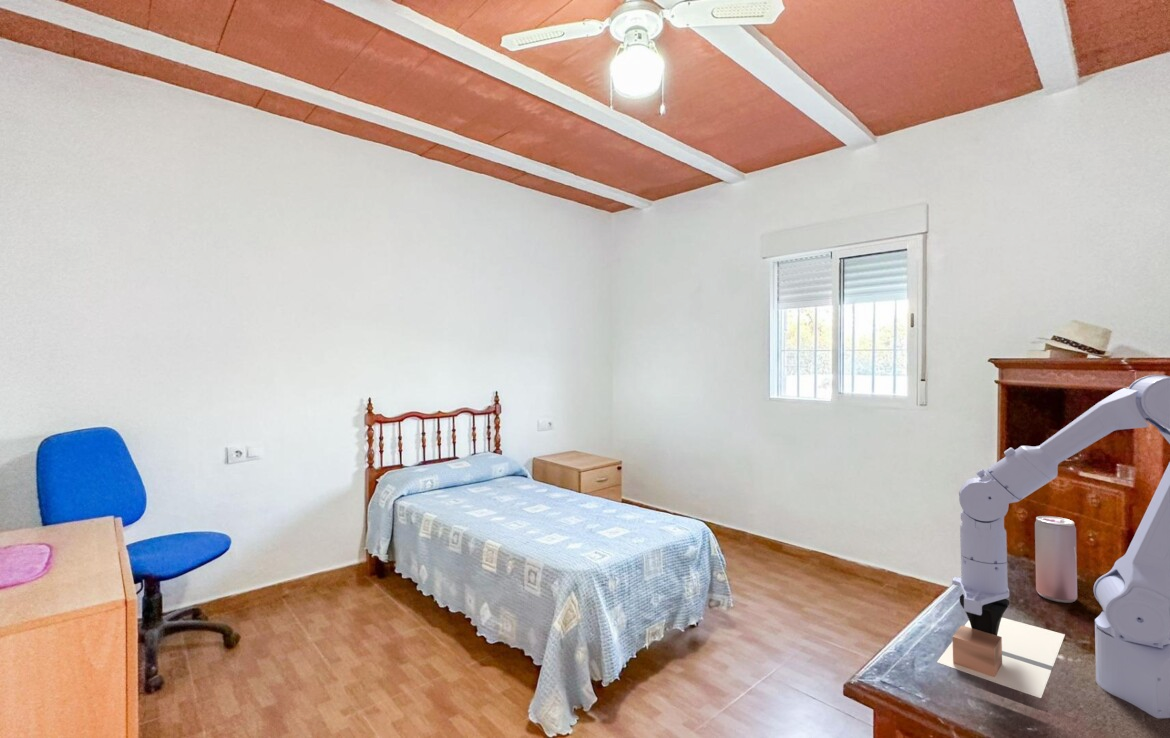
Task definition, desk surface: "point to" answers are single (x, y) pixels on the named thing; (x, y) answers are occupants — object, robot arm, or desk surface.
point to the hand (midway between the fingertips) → (985, 645)
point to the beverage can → (1056, 558)
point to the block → (977, 650)
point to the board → (1019, 657)
